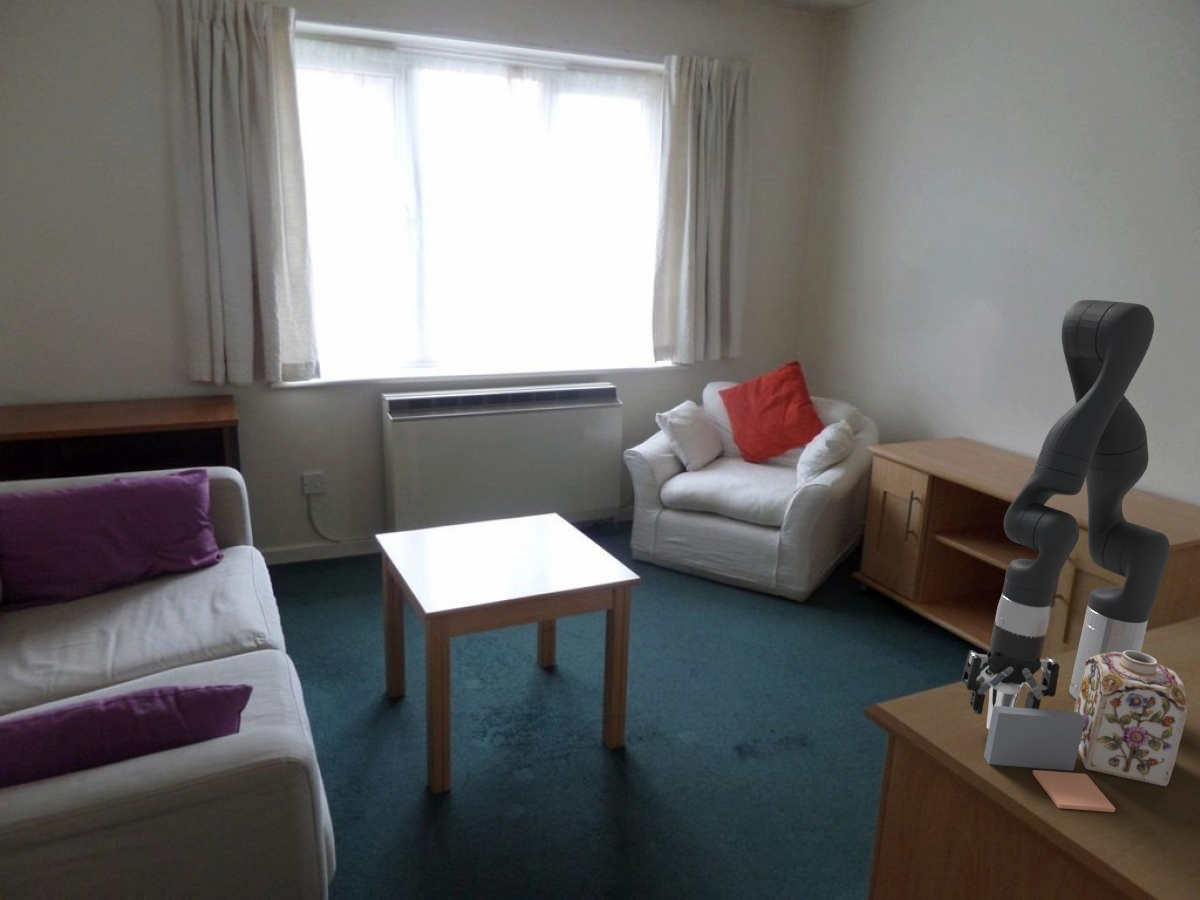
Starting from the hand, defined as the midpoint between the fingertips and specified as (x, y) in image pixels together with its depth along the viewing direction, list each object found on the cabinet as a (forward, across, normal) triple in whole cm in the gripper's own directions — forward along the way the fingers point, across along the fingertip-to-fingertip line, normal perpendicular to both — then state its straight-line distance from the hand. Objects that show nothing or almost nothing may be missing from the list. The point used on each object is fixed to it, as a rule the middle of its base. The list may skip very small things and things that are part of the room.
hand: (1002, 713), depth 137 cm
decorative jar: (+3, -16, +6) cm, 18 cm away
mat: (+3, -4, +15) cm, 16 cm away
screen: (+3, -1, +9) cm, 9 cm away
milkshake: (+3, 0, 0) cm, 3 cm away
